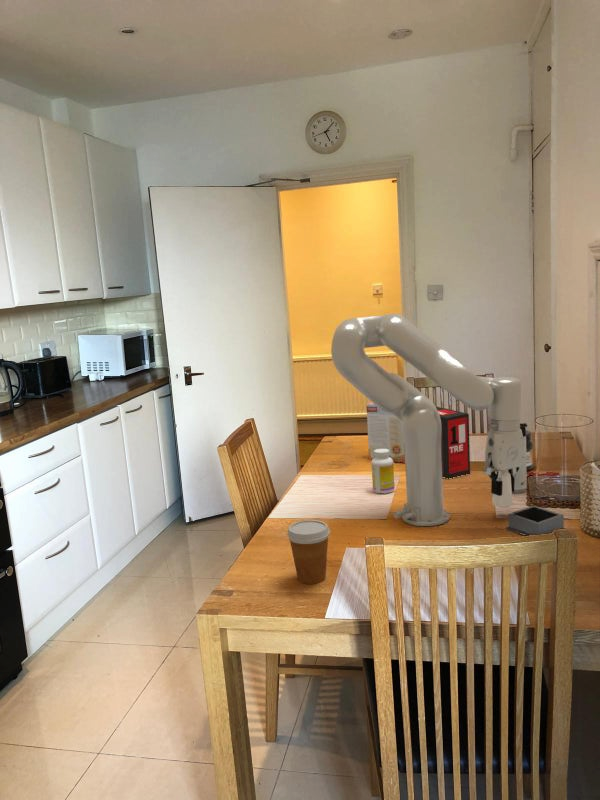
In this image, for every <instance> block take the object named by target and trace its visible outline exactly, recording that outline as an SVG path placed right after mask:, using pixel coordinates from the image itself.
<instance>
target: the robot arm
mask: <svg viewBox="0 0 600 800" xmlns="http://www.w3.org/2000/svg"><path fill="white" fill-rule="evenodd" d="M378 347H387V348H388V349H389V350H391V352H394V353H395V354H396V355H397V356H399V357H401V358H402V359H403V360H405V361H406V362H407V363H408V364H410V366H412V367H414V368H415V369H416V370H418V371H419V372H420V373H421V374H423V375H424V376H425V377H427V378H428V379H429V380H431V381H433V383H435V384H437V385H438V386H439V387H441V388H442V389H443V390H444V391H446V392H447V393H448V394H450V395H451V396H452V397H454V398H455V399H456V400H458V401H459V403H462V405H464V406H466V407H467V408H469V409H470V410H473V411H477V412H478V411H484V410H486V409H489V423H488V428H489V430H488V432H487V437H486V444H485V452H484V453H485V456H484V463H485V465H484V467H483V469H482V472H483V473H485V474H487V476H489V479H490V480H491V483H490V484H491V485H490V486H491V487H490V489H491V490H490V491H491V492H490V493H491V494H492V495H493V494H496V495H498V496H501V495H502V481H500V480H501V475H502V471H504V470H508V469H509V470H508V472H509V473H510V475H511V487H512V492H514V483H515V478H514V477H516V476H517V471H518V470H519V468H520V467H521V466H522V465H523V463H524V442H523V434H522V430H521V429H520V423H521V408H522V407H521V406H522V403H521V401H522V383H521V380H520V379H519V378H517V377H511V376H500V377H499V376H498V377H489V376H480V375H476V374H475V373H474V372H472V371H471V370H469V369H468V368H467V367H465V366H464V365H463V364H461V363H460V362H459V361H458V360H457V359H456V358H455V357H454V356H453V355H452V354H451V353H450V352H449V351H448V350H447V349H446V348H445V347H444V346H443V345H441V344H440V343H438V342H437V341H436V340H435V339H433V338H431V336H429V335H428V334H426V333H425V332H423V331H422V330H421V329H419V327H417V326H415V325H414V324H413V323H412V322H411V321H409V320H407V318H406V317H404V316H403V315H402V314H398V313H388V314H382V315H374V316H373V315H372V316H363V317H362V316H361V317H353V318H348V319H347V318H346V319H345V320H343V321H342V322H340V324H339V325H337V327H336V329H335V330H334V333H333V336H332V341H331V348H330V352H331V359H332V362H333V365H334V367H335V369H336V370H337V372H338V373H339V374H340V375H341V377H343V378H344V379H345V380H346V381H347V382H348V383H349V384H351V385H352V386H353V387H354V388H356V390H357V391H358V392H360V393H361V394H362V395H363V396H364V397H366V398H367V399H368V400H369V401H370V402H373V403H374V404H375V405H376V406H377V407H378V408H379V409H381V410H382V411H385V412H389V413H393V414H394V415H395V416H396V417H398V418H399V419H400V420H401V421H403V424H404V444H405V463H404V465H405V484H406V488H405V489H406V502H405V503H403V507H402V508H401V509H398V510H394V511H393V512H392V515H393V518H394V519H399V518H401V519H402V521H403V522H405V523H407V524H408V525H412V526H416V527H418V526H419V527H433V526H439V525H443V524H445V523H447V522H448V521H449V520H450V512H449V511H447V510H446V509H445V508H444V495H443V494H444V493H443V489H444V486H443V477H442V458H441V432H442V428H441V419H440V415H439V413H438V411H437V409H436V405H435V404H434V402H433V401H432V400H431V399H430V398H428V397H427V396H426V395H425V394H423V393H422V392H421V391H420V390H418V389H417V388H416V387H415V386H414V385H412V384H411V383H410V382H409V381H407V380H406V379H405V378H404V377H402V376H401V375H400V374H398V373H395V372H388V371H387V370H385V369H384V368H383V367H382V366H380V365H379V364H378V362H377V361H374V359H372V358H371V357H370V356H368V355H367V354H366V351H365V349H368V348H369V349H370V348H378ZM496 473H497V474H496Z"/></svg>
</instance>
